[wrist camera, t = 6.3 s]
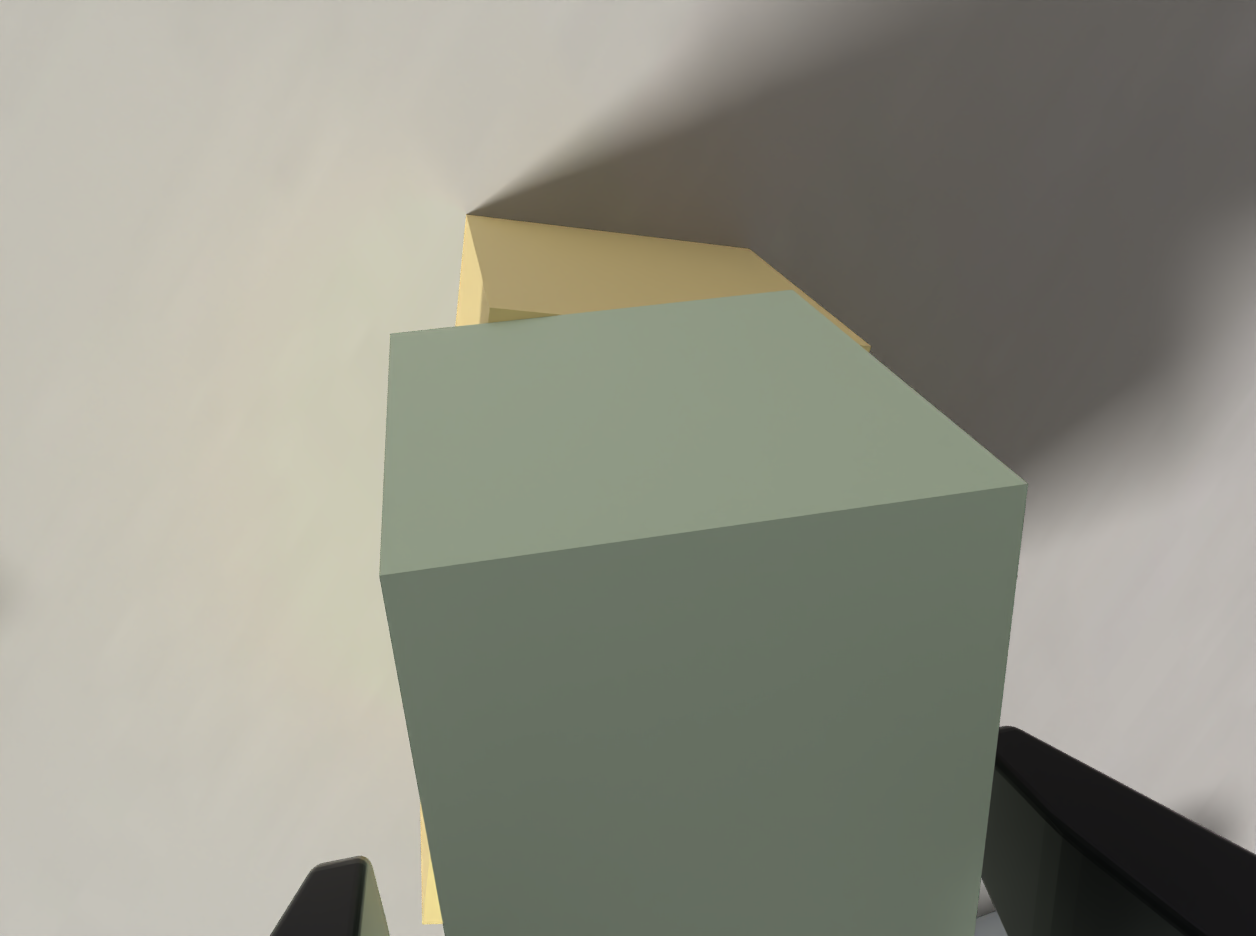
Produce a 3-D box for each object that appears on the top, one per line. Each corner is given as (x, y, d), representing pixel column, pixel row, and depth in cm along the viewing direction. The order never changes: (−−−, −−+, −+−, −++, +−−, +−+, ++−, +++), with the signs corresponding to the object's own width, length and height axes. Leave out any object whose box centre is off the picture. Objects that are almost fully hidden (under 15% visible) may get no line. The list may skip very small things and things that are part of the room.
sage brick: (785, 874, 12) (938, 1238, 9) (485, 932, 12) (519, 1341, 8) (792, 290, 9) (1026, 482, 6) (390, 333, 9) (379, 576, 5)
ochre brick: (653, 706, 16) (726, 914, 12) (418, 702, 15) (421, 924, 12) (746, 246, 13) (870, 347, 10) (465, 213, 13) (490, 307, 9)
